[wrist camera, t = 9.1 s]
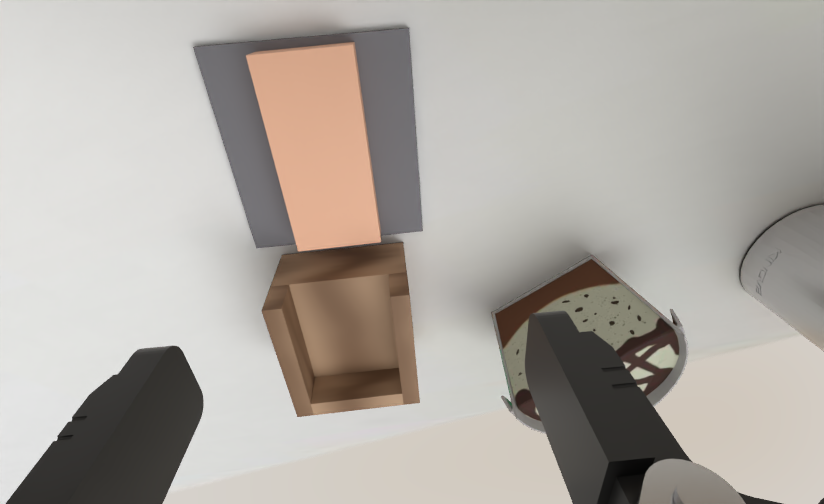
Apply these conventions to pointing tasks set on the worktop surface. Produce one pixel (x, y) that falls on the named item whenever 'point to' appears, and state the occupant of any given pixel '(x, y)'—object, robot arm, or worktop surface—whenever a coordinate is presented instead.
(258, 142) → the charcoal mat
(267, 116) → the cover plate
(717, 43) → the worktop surface
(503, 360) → the food container
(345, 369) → the walnut box
